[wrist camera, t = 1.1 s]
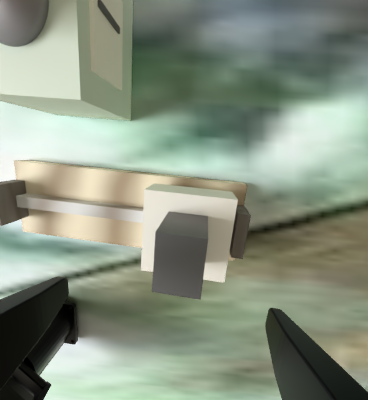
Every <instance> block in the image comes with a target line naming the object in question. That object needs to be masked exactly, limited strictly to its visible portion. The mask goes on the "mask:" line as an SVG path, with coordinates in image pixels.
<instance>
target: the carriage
mask: <svg viewBox="0 0 368 400" xmlns="http://www.w3.org/2000/svg"><path fill="white" fill-rule="evenodd" d="M237 202H238V199H237V198H236V196H235V195H234V193H233V192H230V191H221V190H212V189H203V188H193V187H184V186H175V185H166V184H156V183H154V184H152V185H151V186H149V187H147V188H146V189H144V206H143V232H142V259H141V270H143V271H150V272H153V284H152V292H156V293H163V294H169V295H175V296H182V297H188V298H194V299H201V291H202V283H203V279H204V280H210V281H217V282H224V281H225V275H226V269H227V263H228V257H229V251H230V245H231V239H232V232H233V226H234V220H235V214H236V208H237Z"/></svg>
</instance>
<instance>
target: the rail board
mask: <svg viewBox="0 0 368 400" xmlns="http://www.w3.org/2000/svg"><path fill="white" fill-rule="evenodd" d="M14 166H15V173H16V180H11V181H4V182H0V226H3V225H5V224H8V223H11V222H14V221H17V220H19V219H21V220H22V227H23V231H24V232H31V233H38V234H46V235H53V236H60V237H67V238H74V239H82V240H89V241H96V242H103V243H110V244H118V245H125V246H132V247H139V248H142V232H143V206H144V189H146V188H147V187H149V186H151V185H152V184H154V183H156V184H166V185H175V186H184V187H193V188H203V189H212V190H221V191H230V192H233V193H234V195H235V196H236V198H237V199H238V202H237V208H236V214H235V220H234V226H233V232H232V239H231V245H230V251H229V257H228V260H233V261H234V259H235V258H239V259H243V254H244V249H245V244H246V238H247V233H248V227H249V222H250V216H251V215H250V214H249V212H248V211H247V209H246V208H245V207H244V201H245V196H246V190H247V184H245V183H242V182H233V181H223V180H213V179H204V178H194V177H184V176H175V175H165V174H155V173H146V172H136V171H126V170H117V169H107V168H97V167H88V166H78V165H68V164H59V163H49V162H39V161H30V160H20V161H14Z"/></svg>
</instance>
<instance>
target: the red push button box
mask: <svg viewBox="0 0 368 400" xmlns="http://www.w3.org/2000/svg"><path fill="white" fill-rule="evenodd" d="M132 34H133V0H0V101H3V102H7V103H11V104H15V105H19V106H23V107H27V108H31V109H35V110H39V111H43V112H47V113H51V114H55V115H63V116H75V117H88V118H100V119H113V120H125V121H131V89H132Z"/></svg>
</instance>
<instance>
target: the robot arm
mask: <svg viewBox="0 0 368 400" xmlns="http://www.w3.org/2000/svg"><path fill="white" fill-rule="evenodd" d="M68 294H69V290H68V280H67V278H65V277H55V278H52V279H50V280H47V281H45V282H42V283H40V284H37V285H35V286H32V287H30V288H27V289H25V290H22V291H20V292H18V293H15V294H13V295H10V296H8V297H5V298H3V299H0V400H43V399H44V397H45V396H46V394H47V392H48V390H49V388H50V386H51V384H50V383H49V382H46V381H45V380H44V379H42V378H41V377H40V376H39V375H40V374H41V373H42V371H43V370H44V369H45V367H46V366H47V365H48V363H49V362H50V361H51V359H52V358H53V357H54V355H55V354H56V353H57V351H58V350H59V349H60V347H61V346H62V345H63V343H69V344H75V343H76V342H77V341H78V333H77V317H76V305H75V304H74V303H72V302H67V301H66V299H67V297H68ZM266 333H267V338H268V343H269V349H270V354H271V359H272V364H273V368H274V373H275V377H276V381H277V384H278V387H279V391H280V394H281V398H282V400H368V392H367V391H366V390H365V389H364V388H363V387H362V386H361V385H360V384H359V383H358V382H357V381H355V380H354V379H353V378H352V377H351V376H350V375H349V374H348V373H347V372H346V371H345V370H344V369H343V368H342V367H341V366H340V365H339V364H338V363H336V362H335V361H334V360H333V359H332V358H331V357H330V356H329V355H328V354H327V353H326V352H325V351H324V350H323V349H322V348H321V347H320V346H319V345H318V344H316V343H315V342H314V341H313V340H312V339H311V338H310V337H309V336H308V335H307V334H306V333H305V332H304V331H303V330H302V329H301V328H300V327H299V326H298V325H296V324H295V323H294V322H293V321H292V320H291V319H290V318H289V317H288V316H287V315H286V314H285V313H284V312H283V311H282V310H280V309H276V308H270V309H269V311H268V315H267V320H266Z"/></svg>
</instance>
